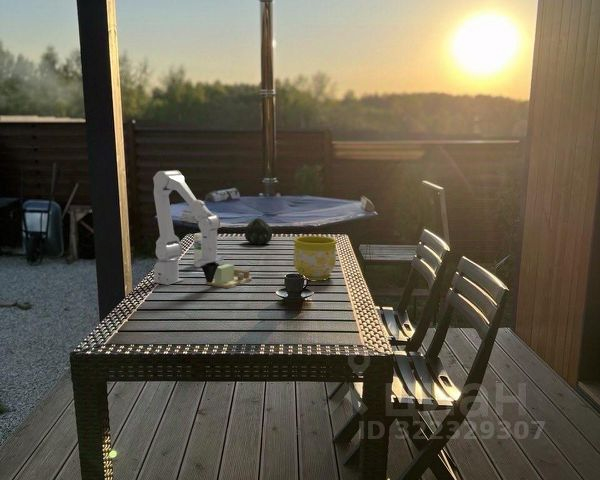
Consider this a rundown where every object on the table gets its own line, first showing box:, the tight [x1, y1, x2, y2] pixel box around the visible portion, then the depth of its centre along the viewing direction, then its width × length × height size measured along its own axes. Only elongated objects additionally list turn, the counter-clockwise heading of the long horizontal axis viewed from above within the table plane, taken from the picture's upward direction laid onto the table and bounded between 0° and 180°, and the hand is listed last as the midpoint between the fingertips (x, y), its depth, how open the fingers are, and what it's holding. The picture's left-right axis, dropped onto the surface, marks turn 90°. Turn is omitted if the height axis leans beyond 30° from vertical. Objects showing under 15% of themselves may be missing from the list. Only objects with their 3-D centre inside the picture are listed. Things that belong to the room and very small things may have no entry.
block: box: [214, 263, 235, 284], centre depth 233 cm, size 8×4×6 cm, turn 149°
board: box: [205, 268, 253, 289], centre depth 236 cm, size 16×11×4 cm
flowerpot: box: [293, 235, 338, 280], centre depth 246 cm, size 18×18×16 cm
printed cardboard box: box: [193, 232, 202, 267], centre depth 264 cm, size 6×6×14 cm
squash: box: [244, 218, 273, 246], centre depth 319 cm, size 14×15×15 cm
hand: (209, 281), depth 226 cm, fingers closed
